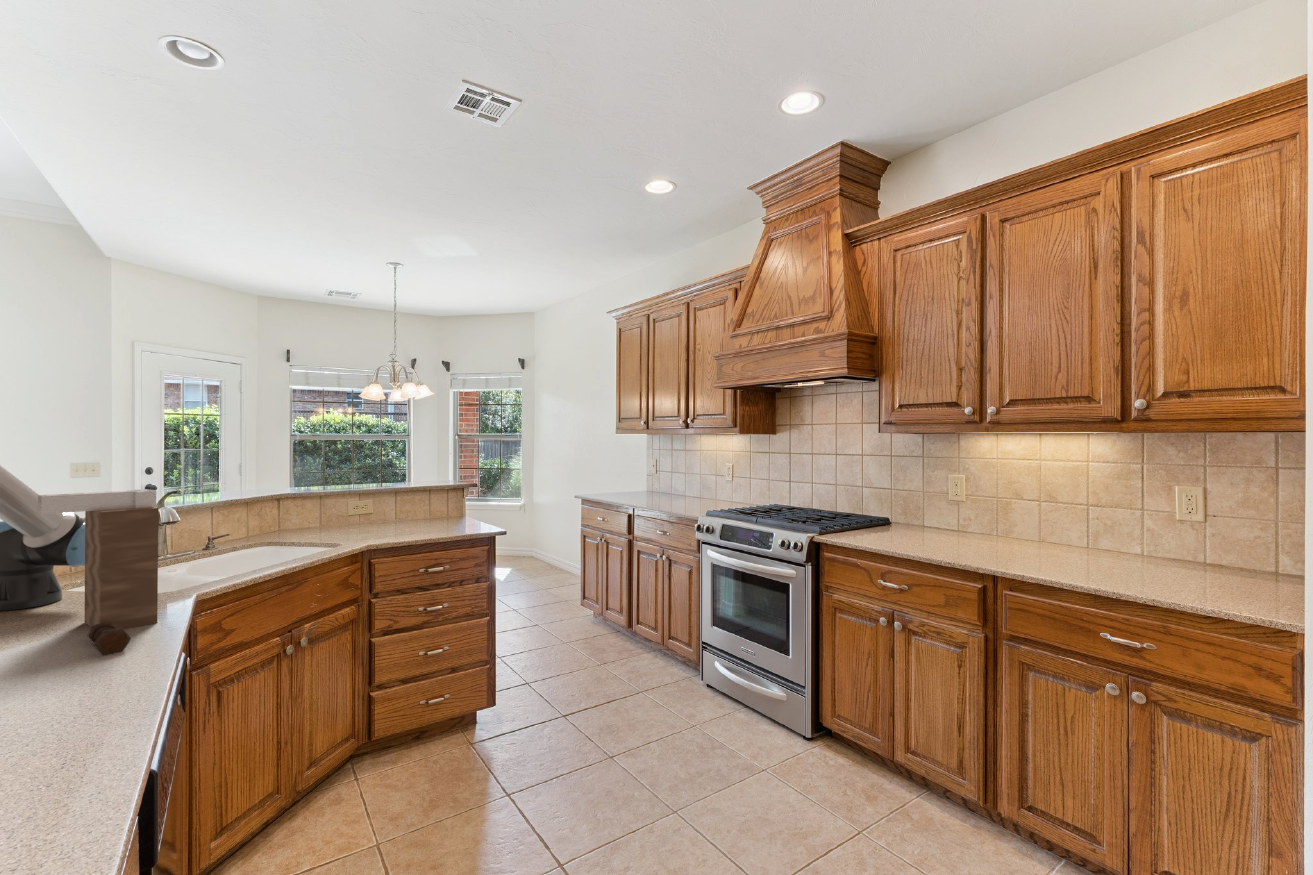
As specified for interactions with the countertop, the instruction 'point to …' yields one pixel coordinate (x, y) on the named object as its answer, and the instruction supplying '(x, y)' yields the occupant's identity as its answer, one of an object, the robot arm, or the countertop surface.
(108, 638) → the bolt
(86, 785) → the countertop surface
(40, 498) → the steel block
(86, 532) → the wooden block
